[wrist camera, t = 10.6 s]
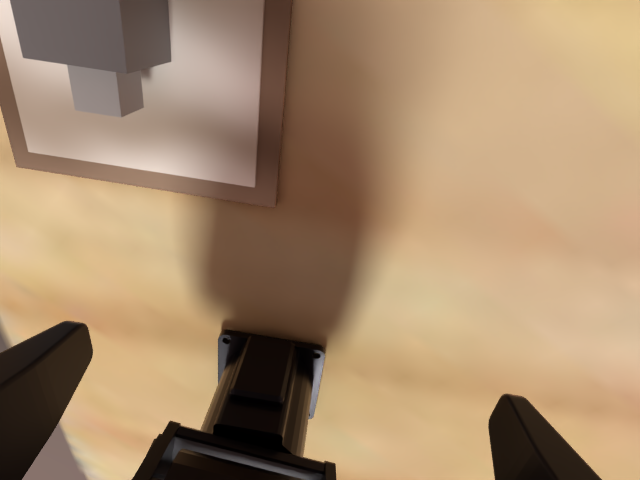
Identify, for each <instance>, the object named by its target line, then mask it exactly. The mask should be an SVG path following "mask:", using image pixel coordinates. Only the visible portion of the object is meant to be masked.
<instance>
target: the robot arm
mask: <svg viewBox="0 0 640 480" xmlns="http://www.w3.org/2000/svg"><path fill="white" fill-rule="evenodd" d="M226 338H228V339H226ZM315 353H319V354H315ZM92 355H93V349H92V344H91V339H90V335H89V330H88V327H87V326H86V324H84V323H80V322H74V321H64V322H62V323H59V324H57V325H55V326H53V327H51V328H49V329H47V330H45V331H43V332H41V333H39V334H37V335H35V336H33V337H31V338H29V339H27V340H25V341H23V342H21V343H19V344H17V345H15V346H13V347H11V348H9V349H7V350H5V351H3V352H1V353H0V480H22V478H23V477H24V475H25V474H26V472H27V471H28V469H29V468H30V466H31V465H32V463H33V462H34V460H35V458H36V457H37V456H38V454H39V452H40V451H41V449H42V448H43V446H44V445H45V443H46V442H47V440H48V439H49V437H50V436H51V434H52V432H53V431H54V429H55V428H56V426H57V424H58V422H59V420H60V419H61V417H62V415H63V413H64V411H65V409H66V407H67V405H68V403H69V402H70V400H71V398H72V396H73V394H74V392H75V390H76V388H77V386H78V384H79V382H80V381H81V379H82V377H83V375H84V373H85V371H86V369H87V367H88V365H89V363H90V361H91V359H92ZM324 358H325V349H324V348H323V347H322V346H320V345H315V344H309V343H303V342H297V341H291V340H285V339H278V338H272V337H266V336H260V335H254V334H248V333H242V332H236V331H230V330H224V331H222V332H221V334H220V336H219V339H218V386H217V389H216V391H215V394H214V397H213V399H212V402H211V404H210V407H209V409H208V412H207V415H206V417H205V420H204V422H203V425H202V427H201V430H196V429H192V428H189V427H185V426H181V423H177V422H173V421H170V422H169V423H168V425H167V427H166V429H165V430H164V432H163V434H159V435H158V437H157V439H154V441H153V443H152V445H151V447H150V449H149V451H148V453H147V455H146V457H145V459H144V460H143V462H142V464H141V466H140V467H139V469H138V471H137V472H136V474H135V476H134V477H133V479H132V480H336V466H335V463H332V462H328V461H325V462H320V461H316V460H312V459H308V458H305V457H303V454H304V447H305V439H306V432H307V425H308V419H311V418H313V416H314V412H315V406H316V401H317V396H318V390H319V385H320V380H321V374H322V369H323V364H324ZM489 436H490V444H491V452H492V460H493V468H494V475H495V480H602V479H601V478H600V477H599V476H598V475H597V474H596V473H595V472H594V471H593V470H592V469H591V467H590V466H589V465H588V464H587V463H586V462H585V461H584V460H583V459H582V458H581V457H580V456H579V455H578V454H577V452H576V451H575V450H574V449H573V448H572V447H571V446H570V445H569V444H568V443H567V442H566V441H565V440H564V439H563V437H562V436H561V435H560V434H559V433H558V432H557V431H556V430H555V429H554V428H553V427H552V426H551V425H550V424H549V422H548V421H547V420H546V419H545V418H544V417H543V416H542V415H541V414H540V413H539V412H538V411H537V410H536V409H535V407H534V406H533V405H532V404H531V403H530V402H529V401H528V400H527V399H526V398H524V397H522V396H518V395H512V394H503V395H502V396H501V397H500V399H499V401H498V403H497V405H496V407H495V408H494V410H493V412H492V414H491V416H490V419H489Z"/></svg>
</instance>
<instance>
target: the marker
mask: <svg viewBox="0 0 640 480" xmlns="http://www.w3.org/2000/svg"><path fill="white" fill-rule="evenodd" d="M10 3H11V8H12V12H13V16H14V21H15V25H16V30H17V34H18V38H19V43H20V47H21V52H22V56H23V58H26V59H32V60H39V61H46V62H52V63H59V64H65V65H67V68H68V74H69V79H70V85H71V91H72V96H73V102H74V107H75V110H76V111H82V112H88V113H95V114H101V115H108V116H114V117H121V118H122V117H124V116H126V115H128V114H131V113H133V112H135V111H137V110H140V109H142V108H144V103H143V92H142V81H141V70H143V69H147V68H150V67H154V66H158V65H161V64H165V63H169V62H171V44H170V26H169V8H168V0H10Z"/></svg>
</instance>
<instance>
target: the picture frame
mask: <svg viewBox="0 0 640 480" xmlns="http://www.w3.org/2000/svg"><path fill="white" fill-rule="evenodd" d="M292 1H293V0H168V8H169V26H170V44H171V62H169V63H165V64H161V65H158V66H154V67H150V68H147V69H143V70H141V81H142V92H143V103H144V108H142V109H140V110H137V111H135V112H133V113H131V114H128V115H126V116H124V117H122V118H121V117H114V116H108V115H101V114H95V113H88V112H82V111H76V110H75V107H74V102H73V96H72V91H71V85H70V79H69V74H68V68H67V65H65V64H59V63H52V62H46V61H39V60H32V59H26V58H23V56H22V52H21V47H20V43H19V38H18V34H17V30H16V25H15V21H14V16H13V12H12V8H11V3H10V0H0V107H1V110H2V114H3V118H4V122H5V125H6V129H7V133H8V137H9V140H10V144H11V148H12V152H13V155H14V159H15V163H16V167H19V168H26V169H32V170H38V171H45V172H51V173H57V174H64V175H70V176H76V177H82V178H89V179H95V180H101V181H108V182H114V183H120V184H127V185H133V186H139V187H145V188H152V189H158V190H164V191H171V192H177V193H183V194H190V195H196V196H202V197H208V198H215V199H221V200H227V201H234V202H240V203H246V204H253V205H259V206H265V207H271V208H275V206H276V200H277V187H278V175H279V162H280V150H281V138H282V125H283V113H284V100H285V88H286V75H287V63H288V50H289V38H290V25H291V13H292Z"/></svg>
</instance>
